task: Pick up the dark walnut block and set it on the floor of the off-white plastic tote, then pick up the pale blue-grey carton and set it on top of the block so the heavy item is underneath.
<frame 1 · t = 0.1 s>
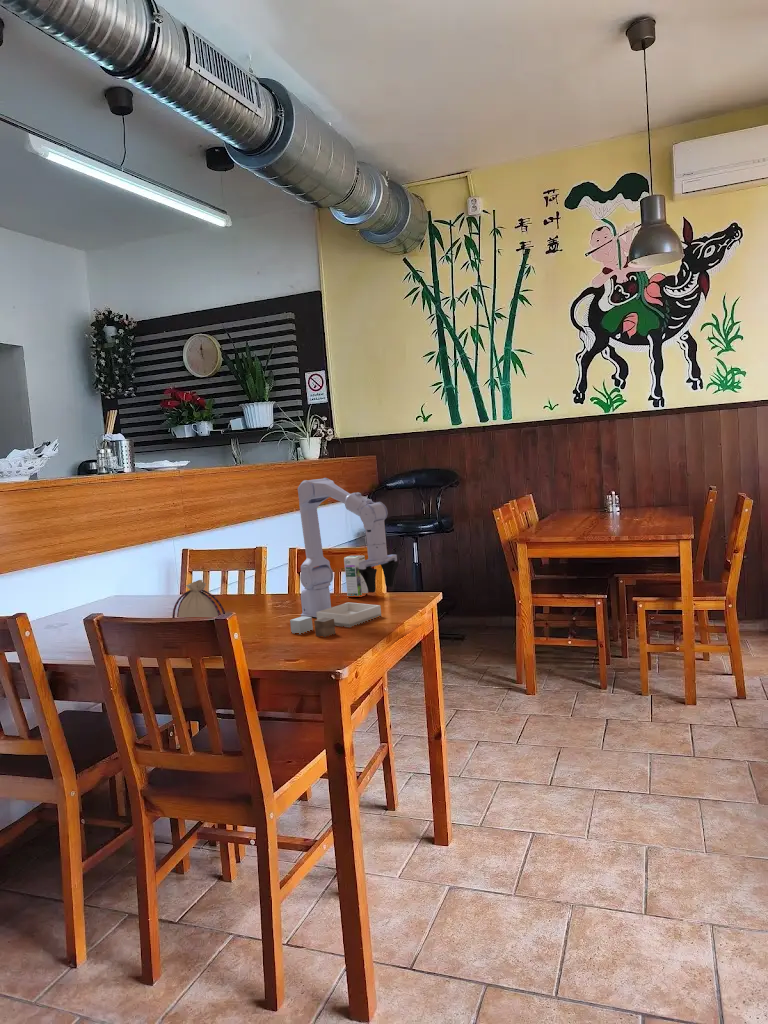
hand: (380, 589, 217), 10 cm above the table, tool pointing down, fingers open, 7 cm apart
tote: (349, 619, 225), on the table
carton: (302, 631, 216), on the table
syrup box: (358, 596, 261), on the table
walnut block: (325, 635, 209), on the table
pouch: (202, 647, 209), on the table
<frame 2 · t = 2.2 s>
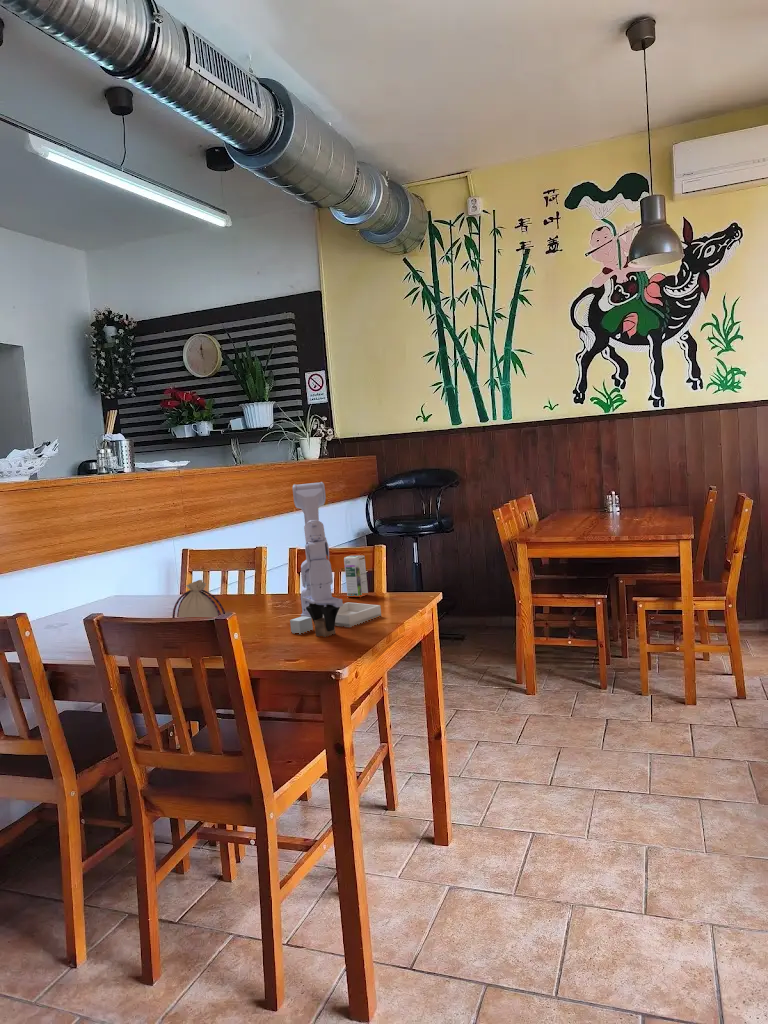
hand: (325, 629, 209), 1 cm above the table, tool pointing down, fingers closed on walnut block, 4 cm apart
walnut block: (325, 634, 209), on the table, touching gripper
everything else where it was.
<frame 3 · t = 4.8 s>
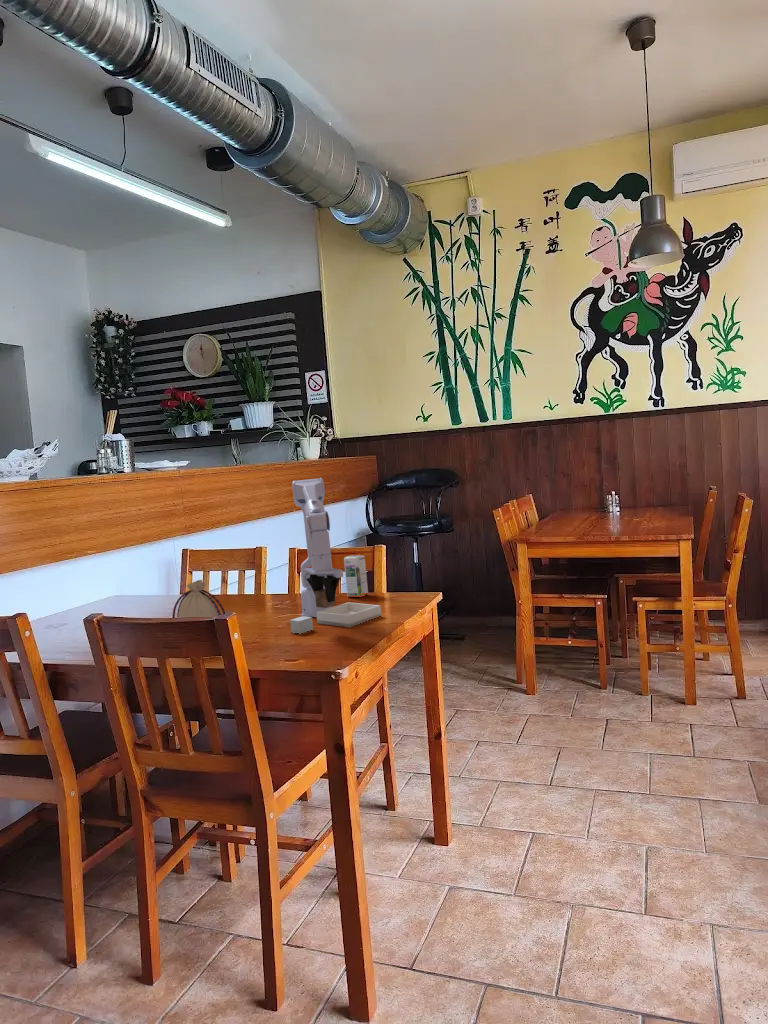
hand: (325, 600, 211), 9 cm above the table, tool pointing down, fingers closed on walnut block, 4 cm apart
walnut block: (326, 605, 211), point 8 cm above the table, touching gripper
everything else where it was.
when the fingers open (4 cm above the table, at t = 7.4 s): walnut block drops 1 cm, resting on tote.
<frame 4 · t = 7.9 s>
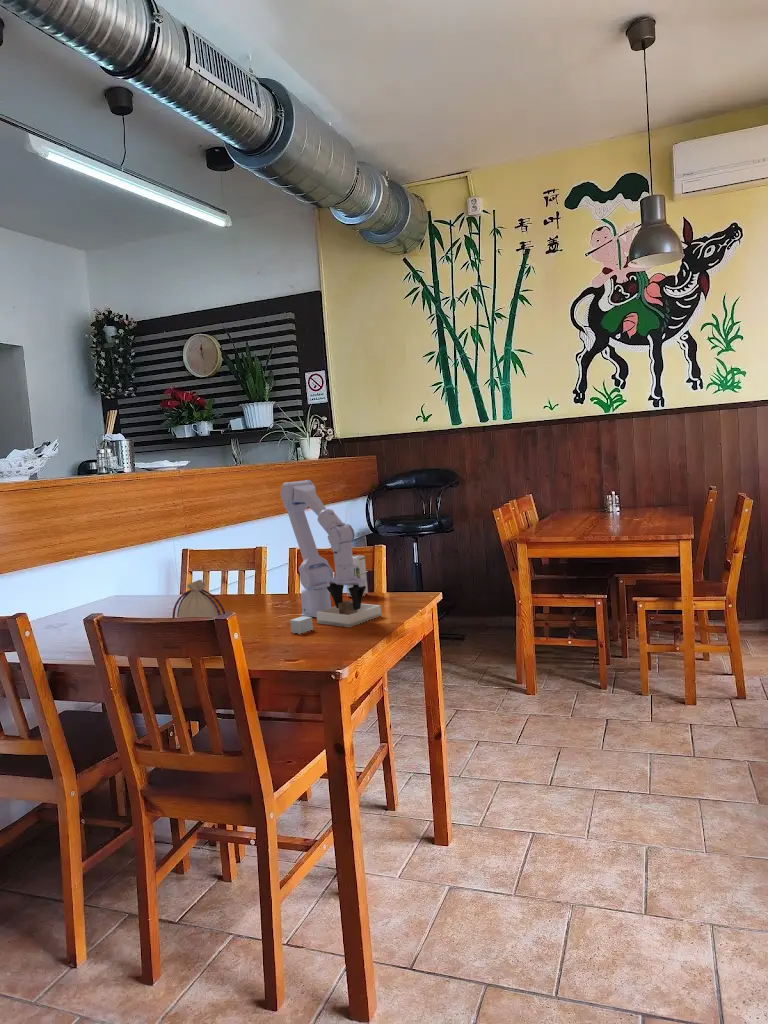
hand: (348, 608, 225), 4 cm above the table, tool pointing down, fingers open, 7 cm apart
walnut block: (348, 616, 225), point 1 cm above the table, touching tote
everything else where it was.
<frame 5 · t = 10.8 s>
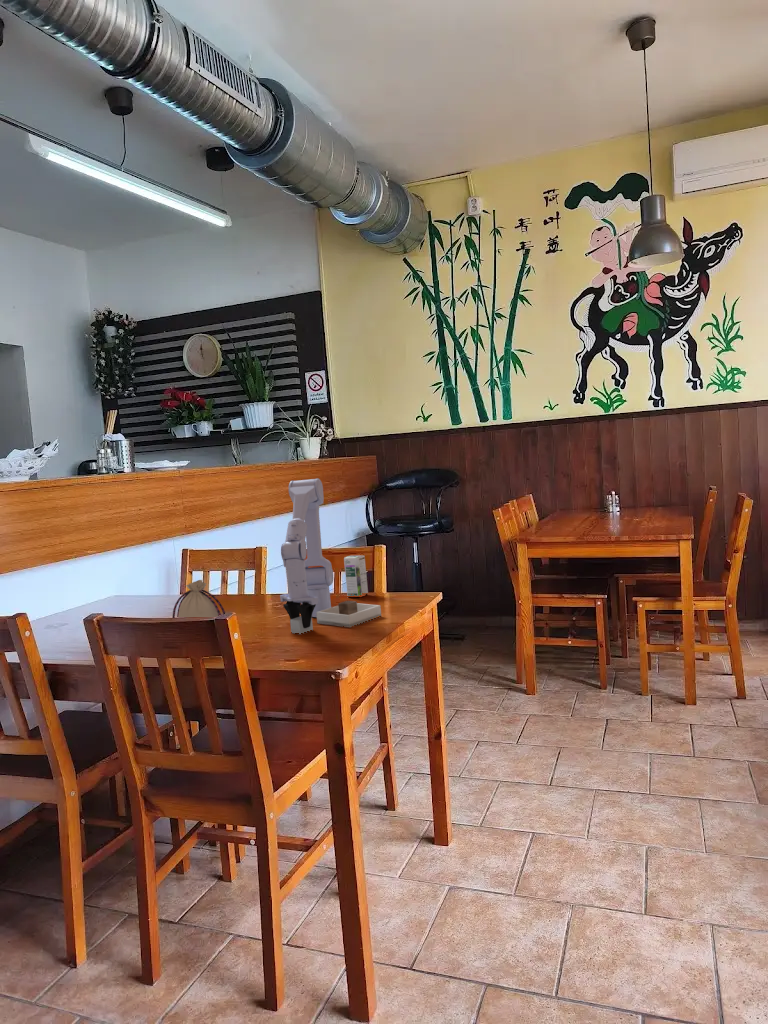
hand: (301, 626, 216), 1 cm above the table, tool pointing down, fingers closed on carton, 4 cm apart
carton: (302, 631, 216), on the table, touching gripper
everything else where it was.
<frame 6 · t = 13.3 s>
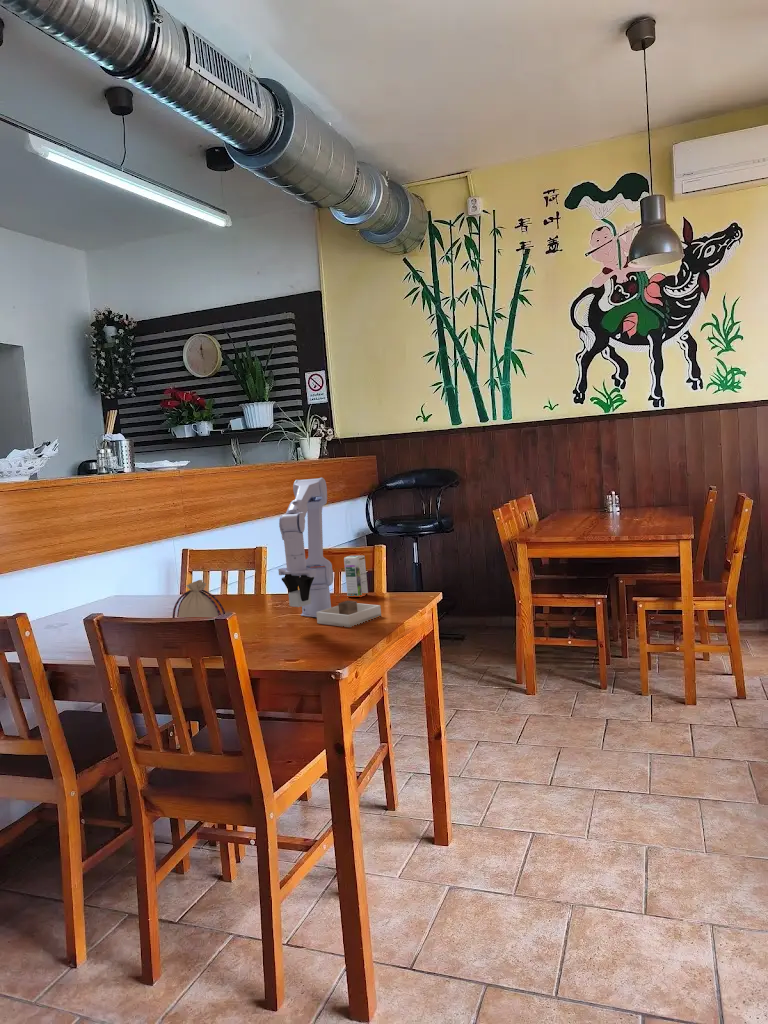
hand: (300, 600, 215), 9 cm above the table, tool pointing down, fingers closed on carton, 4 cm apart
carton: (300, 604, 216), point 8 cm above the table, touching gripper
everything else where it was.
when the fingers open (8 cm above the table, at t = 16.1 s): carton stays where it is, resting on walnut block.
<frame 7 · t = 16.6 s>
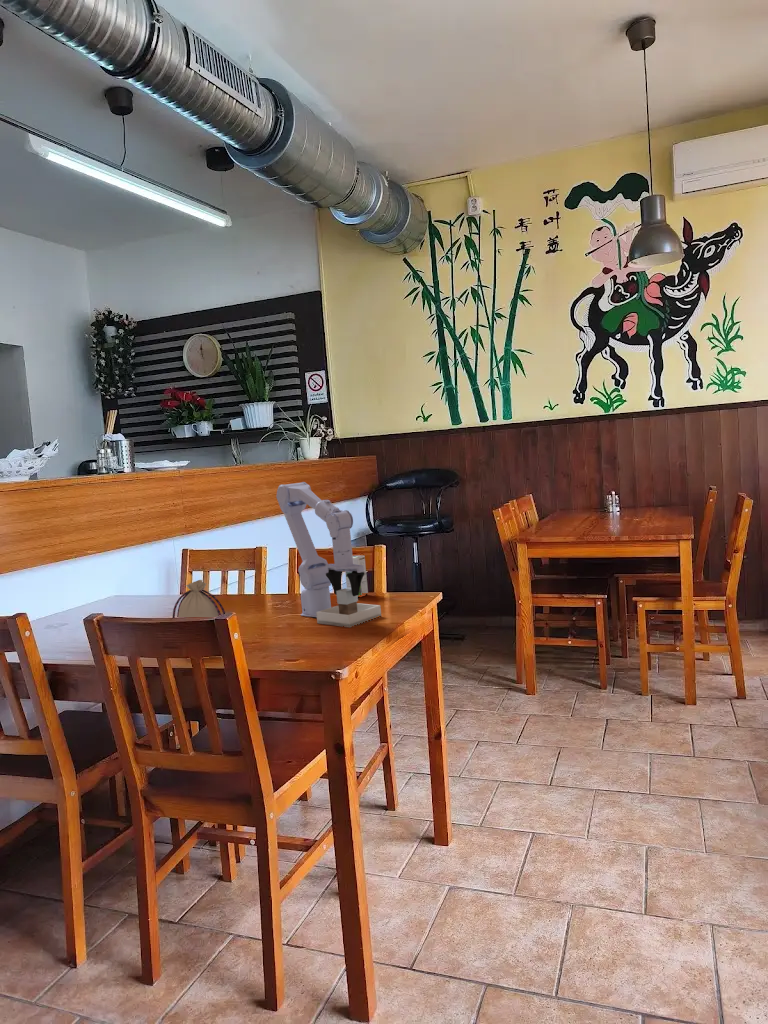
hand: (346, 594, 225), 8 cm above the table, tool pointing down, fingers open, 7 cm apart
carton: (347, 602, 225), point 5 cm above the table, touching walnut block
walnut block: (348, 616, 225), point 1 cm above the table, touching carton, tote
everything else where it was.
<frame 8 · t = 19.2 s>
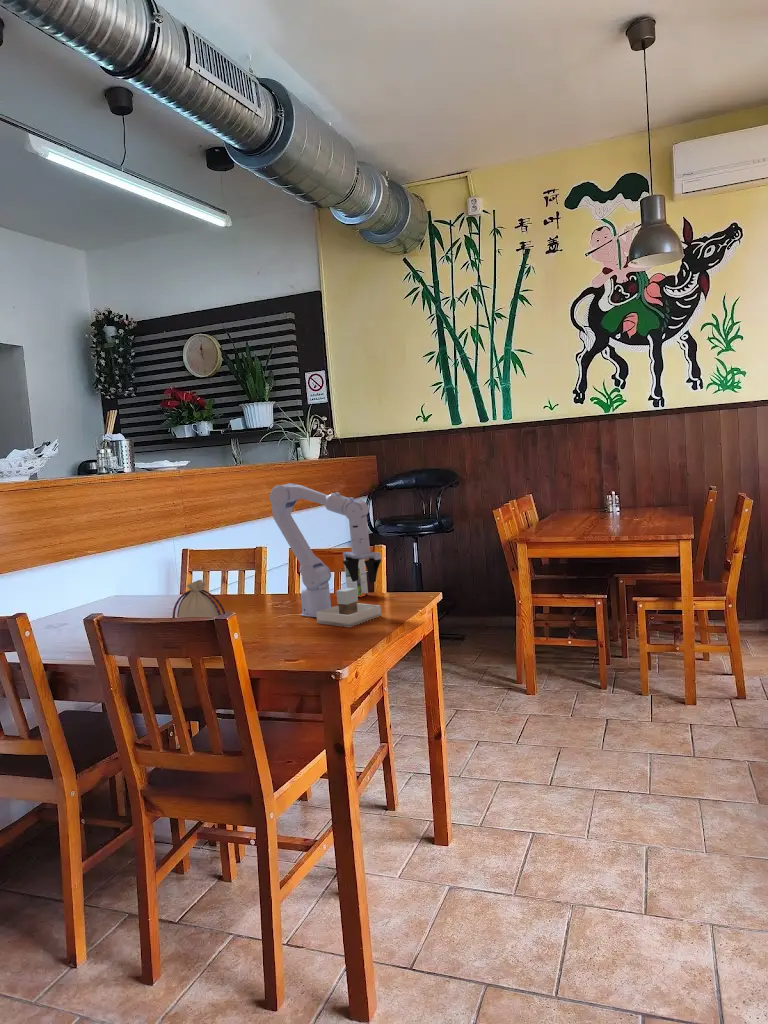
hand: (363, 581, 230), 10 cm above the table, tool pointing down, fingers open, 7 cm apart
nothing on the table moved.
at the end: walnut block inside the target area on the tote (0.1 cm from its centre), point 1.0 cm above the tote's base; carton 0.1 cm off-centre on the walnut block, point 4.5 cm above the walnut block's base; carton tilted 0° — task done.
